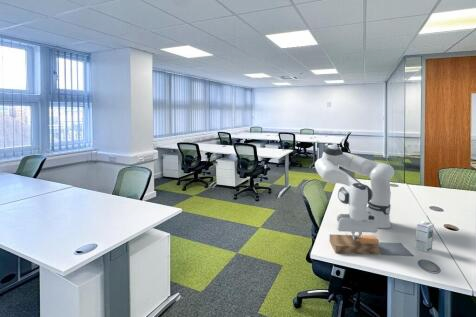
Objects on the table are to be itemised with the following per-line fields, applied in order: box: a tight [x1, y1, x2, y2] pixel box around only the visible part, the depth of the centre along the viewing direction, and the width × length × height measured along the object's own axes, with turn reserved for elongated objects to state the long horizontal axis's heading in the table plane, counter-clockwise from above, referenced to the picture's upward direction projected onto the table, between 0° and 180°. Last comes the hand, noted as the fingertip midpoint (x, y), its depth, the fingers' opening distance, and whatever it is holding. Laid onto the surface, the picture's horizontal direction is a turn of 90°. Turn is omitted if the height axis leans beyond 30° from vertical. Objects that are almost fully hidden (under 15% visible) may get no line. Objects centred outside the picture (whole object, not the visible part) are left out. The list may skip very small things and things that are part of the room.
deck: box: [329, 233, 381, 256], centre depth 153 cm, size 22×14×4 cm, turn 85°
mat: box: [378, 241, 415, 257], centre depth 151 cm, size 16×14×1 cm
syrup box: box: [414, 220, 435, 253], centre depth 150 cm, size 6×6×14 cm
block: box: [359, 234, 380, 244], centre depth 151 cm, size 9×6×2 cm, turn 85°
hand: (356, 239), depth 152 cm, fingers closed
